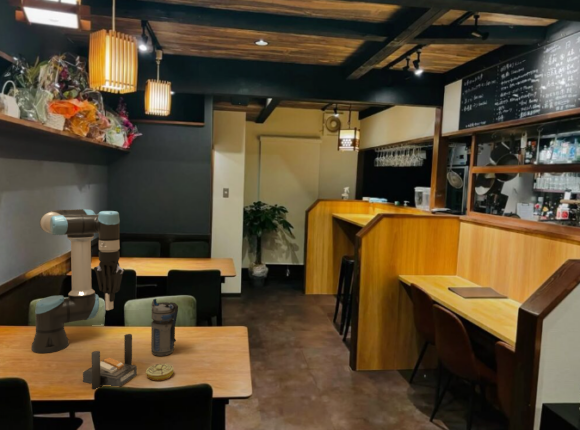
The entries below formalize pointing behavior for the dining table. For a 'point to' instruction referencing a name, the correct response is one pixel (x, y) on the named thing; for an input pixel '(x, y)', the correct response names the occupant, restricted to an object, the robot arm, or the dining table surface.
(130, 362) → the post far
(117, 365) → the paddle orange
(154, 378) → the decorated donut
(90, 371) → the breaker box
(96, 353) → the post near
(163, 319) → the beverage bottle
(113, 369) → the paddle ivory
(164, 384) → the dining table surface
